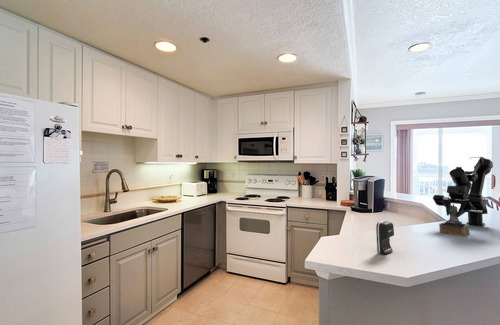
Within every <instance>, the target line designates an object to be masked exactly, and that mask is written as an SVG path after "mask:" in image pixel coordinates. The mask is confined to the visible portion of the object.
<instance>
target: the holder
mask: <svg viewBox="0 0 500 325" xmlns="http://www.w3.org/2000/svg"><path fill="white" fill-rule="evenodd" d="M446 221H447V220H446ZM446 221H443V222H440V223H439V233H440V234H447V235H448V234H449V235H453V236H460V237H466V236H467V235H468V234H470V224H466V223H462V225H461V226H460V227H458V226H450V225H448V224H447V222H446Z"/></svg>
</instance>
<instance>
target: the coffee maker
mask: <svg viewBox="0 0 500 325" xmlns="http://www.w3.org/2000/svg"><path fill="white" fill-rule="evenodd" d="M375 226H376V227H375V231H376V233H375V234H376V252H377V253H378V254H380V255H381V254H382V255H388V254H390V253H392V252H393V251H394V250H393V248H392V246H391V241H390V239H391V238H392V237H394V236H395V229H394V224H393V222H390V221H386V220H381V221H379V222H377V223H376V225H375Z"/></svg>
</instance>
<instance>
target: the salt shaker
mask: <svg viewBox="0 0 500 325" xmlns="http://www.w3.org/2000/svg"><path fill="white" fill-rule="evenodd" d="M458 211H459V209H458V207H457V206H455V204H454V203H452V205H451V206H450V213H449V219H447V220H446V222H447V224H448V225H450V226H458V227H460V226H461V225H462V224H463V221H460V220H459V217H457V213H458Z"/></svg>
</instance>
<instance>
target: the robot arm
mask: <svg viewBox="0 0 500 325" xmlns="http://www.w3.org/2000/svg"><path fill="white" fill-rule="evenodd" d="M492 168H494V162H493V161H492V160H491V159H489V158H487V157H486V158H485V157H484V156H481V155H480V156H470V157H469V161H468V162H467V164H466V165H465V166H464V167H463V168H462V166H456V167H455V168H453V169H452V170H450V171H449V176H450V178H451V180H452V183H453V184H455V185H447V188H446V193H447V194H448V196H449V197H446V196H445V195H442V194H434V195H433V196H432V200H433V201H434V203H435V205H436V206H439V207H440V206H441V207H445V212H446V216H449V217H450V214H449V213H450V206H452V204H454V205H459V208H458V213H457V217H458V218H459V217H461V216H462V215H464V214H465V213H467V222H466V223H465V224H469V226H470V225H471V226H478V227H479V226H481V227H484V226H485V225H486V223H485V222H484V220H483V215H488V208H487V206H486V204H485V201H484V200H483V197H482V194H483V189H484V185H485V180H486V176H487V175H488V174H490V173H491V171H492Z"/></svg>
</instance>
